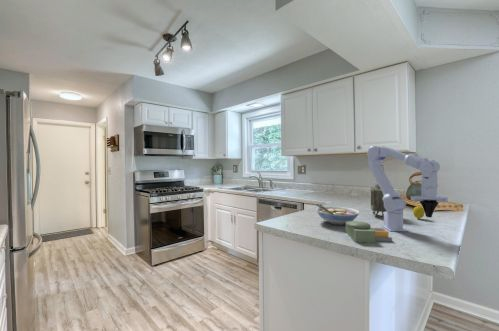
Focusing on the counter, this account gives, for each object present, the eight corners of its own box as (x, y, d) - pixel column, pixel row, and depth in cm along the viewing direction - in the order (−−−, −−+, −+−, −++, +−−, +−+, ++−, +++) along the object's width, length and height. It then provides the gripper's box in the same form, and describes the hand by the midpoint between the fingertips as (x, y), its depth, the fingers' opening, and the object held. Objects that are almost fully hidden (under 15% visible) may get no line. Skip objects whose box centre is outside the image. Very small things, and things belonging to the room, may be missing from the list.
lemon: (419, 217, 147) (419, 204, 147) (426, 220, 142) (426, 206, 142) (410, 217, 147) (410, 204, 147) (417, 220, 142) (417, 206, 141)
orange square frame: (366, 236, 112) (366, 227, 112) (382, 236, 111) (382, 227, 111) (371, 240, 106) (371, 231, 106) (388, 240, 105) (388, 231, 105)
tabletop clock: (370, 213, 160) (371, 175, 160) (386, 214, 157) (386, 176, 156) (373, 218, 147) (373, 177, 146) (390, 219, 143) (390, 177, 143)
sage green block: (342, 231, 118) (342, 219, 118) (380, 233, 116) (380, 220, 116) (351, 242, 103) (351, 228, 103) (395, 243, 101) (395, 229, 101)
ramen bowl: (368, 229, 122) (368, 213, 121) (322, 229, 122) (323, 213, 122) (349, 218, 147) (349, 204, 146) (311, 217, 147) (311, 204, 147)
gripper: (417, 187, 106) (416, 218, 106) (453, 188, 104) (452, 219, 104) (408, 186, 113) (407, 214, 113) (441, 186, 111) (441, 215, 111)
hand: (428, 216), depth 109 cm, fingers closed
